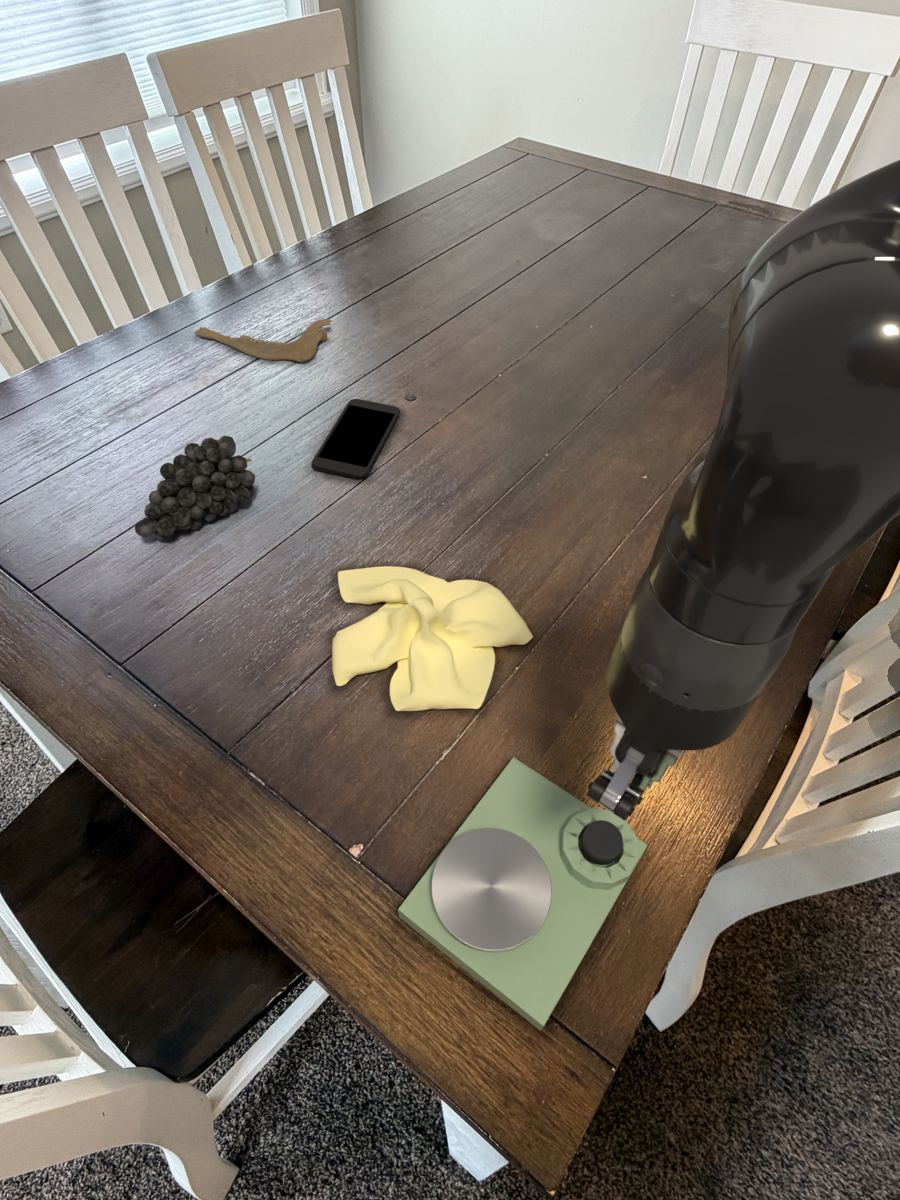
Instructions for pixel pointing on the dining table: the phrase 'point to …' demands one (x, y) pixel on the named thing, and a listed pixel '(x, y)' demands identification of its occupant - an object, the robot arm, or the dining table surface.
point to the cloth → (425, 636)
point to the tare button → (601, 842)
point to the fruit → (197, 488)
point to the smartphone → (356, 439)
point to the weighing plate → (491, 890)
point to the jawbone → (275, 343)
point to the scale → (577, 891)
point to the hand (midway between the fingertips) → (624, 792)
